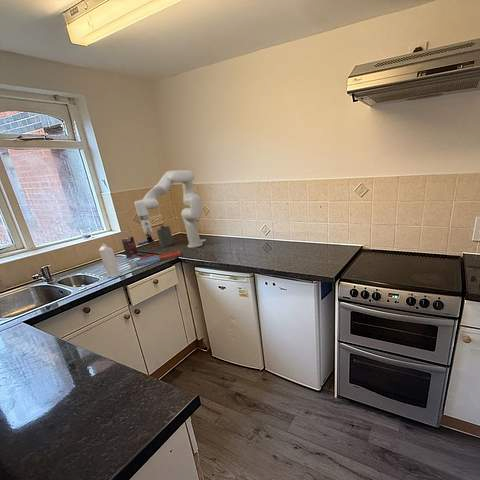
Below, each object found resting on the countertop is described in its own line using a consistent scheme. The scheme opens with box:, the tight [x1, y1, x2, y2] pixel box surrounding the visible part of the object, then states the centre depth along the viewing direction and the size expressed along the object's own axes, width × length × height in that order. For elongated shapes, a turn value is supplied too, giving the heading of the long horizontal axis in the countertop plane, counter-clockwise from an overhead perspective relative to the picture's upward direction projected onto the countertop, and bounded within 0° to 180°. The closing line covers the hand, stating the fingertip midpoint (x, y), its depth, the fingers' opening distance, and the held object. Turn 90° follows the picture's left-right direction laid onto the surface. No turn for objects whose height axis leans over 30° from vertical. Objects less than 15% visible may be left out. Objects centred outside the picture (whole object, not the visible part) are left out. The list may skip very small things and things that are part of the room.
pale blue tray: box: [135, 254, 161, 267], centre depth 222 cm, size 15×11×2 cm
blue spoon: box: [137, 239, 156, 246], centre depth 219 cm, size 12×4×2 cm, turn 122°
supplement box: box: [121, 236, 139, 260], centre depth 236 cm, size 9×5×16 cm, turn 168°
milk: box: [98, 243, 121, 279], centre depth 196 cm, size 6×6×22 cm
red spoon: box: [139, 253, 156, 259], centre depth 233 cm, size 12×4×2 cm, turn 122°
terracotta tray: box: [157, 250, 182, 262], centre depth 229 cm, size 15×11×2 cm
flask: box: [156, 224, 174, 249], centre depth 260 cm, size 4×14×18 cm, turn 156°
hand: (150, 242), depth 221 cm, fingers closed on blue spoon, 1 cm apart
